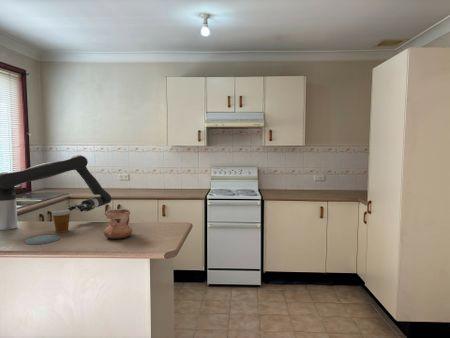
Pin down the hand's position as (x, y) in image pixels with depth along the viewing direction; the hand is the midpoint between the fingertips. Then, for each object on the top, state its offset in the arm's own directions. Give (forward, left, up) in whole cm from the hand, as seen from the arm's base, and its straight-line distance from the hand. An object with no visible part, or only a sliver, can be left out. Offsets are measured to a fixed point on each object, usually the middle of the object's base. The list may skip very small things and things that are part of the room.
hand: (74, 209), depth 197 cm
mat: (+10, -27, -10) cm, 30 cm away
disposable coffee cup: (+3, -11, -10) cm, 15 cm away
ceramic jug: (+41, -4, -10) cm, 43 cm away
